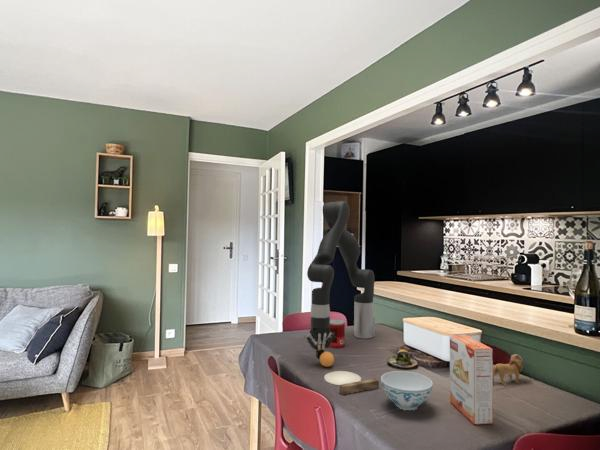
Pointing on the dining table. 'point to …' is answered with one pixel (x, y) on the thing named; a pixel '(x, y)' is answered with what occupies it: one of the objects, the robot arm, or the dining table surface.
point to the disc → (341, 377)
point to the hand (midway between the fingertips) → (319, 358)
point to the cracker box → (471, 378)
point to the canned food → (337, 333)
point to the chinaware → (406, 388)
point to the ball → (326, 359)
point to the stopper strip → (358, 386)
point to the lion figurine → (509, 369)
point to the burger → (402, 360)
